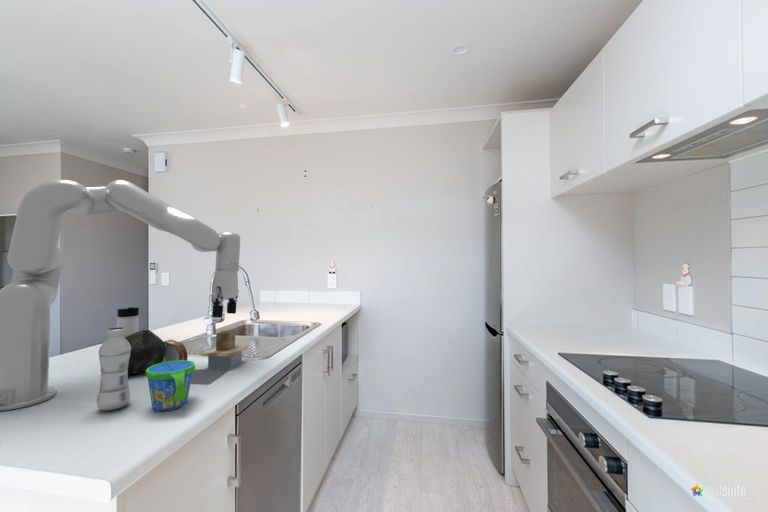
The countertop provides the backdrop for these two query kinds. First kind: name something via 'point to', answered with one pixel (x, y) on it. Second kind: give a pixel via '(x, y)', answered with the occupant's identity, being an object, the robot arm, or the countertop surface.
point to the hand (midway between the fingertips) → (224, 315)
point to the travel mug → (128, 320)
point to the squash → (144, 351)
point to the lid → (225, 345)
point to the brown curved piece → (174, 351)
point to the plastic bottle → (114, 370)
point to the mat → (206, 376)
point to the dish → (224, 361)
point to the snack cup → (169, 383)
